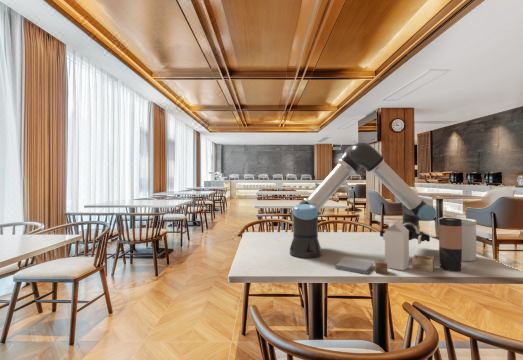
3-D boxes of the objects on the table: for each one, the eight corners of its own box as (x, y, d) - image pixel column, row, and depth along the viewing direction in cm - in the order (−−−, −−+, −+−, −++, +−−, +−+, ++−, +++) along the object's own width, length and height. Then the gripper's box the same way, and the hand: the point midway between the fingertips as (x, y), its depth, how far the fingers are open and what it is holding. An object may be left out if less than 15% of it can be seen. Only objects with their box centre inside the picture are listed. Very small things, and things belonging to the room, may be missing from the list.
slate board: (335, 268, 115) (335, 264, 115) (345, 261, 125) (345, 258, 125) (366, 274, 108) (366, 270, 108) (373, 266, 118) (373, 262, 118)
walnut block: (376, 273, 110) (376, 262, 110) (374, 270, 113) (374, 260, 113) (387, 274, 109) (387, 263, 109) (385, 271, 112) (385, 260, 112)
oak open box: (412, 269, 115) (412, 258, 115) (414, 265, 121) (414, 254, 121) (432, 272, 111) (432, 261, 111) (434, 267, 117) (434, 257, 117)
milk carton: (409, 267, 117) (408, 220, 117) (403, 271, 112) (403, 222, 112) (390, 263, 122) (390, 219, 122) (384, 267, 117) (384, 220, 117)
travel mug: (465, 272, 110) (465, 220, 110) (443, 271, 112) (443, 219, 112) (456, 266, 118) (456, 217, 118) (436, 265, 119) (435, 217, 120)
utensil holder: (442, 260, 127) (442, 220, 127) (434, 252, 141) (434, 216, 141) (482, 263, 122) (482, 222, 122) (470, 254, 136) (470, 218, 136)
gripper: (437, 242, 133) (434, 251, 116) (380, 236, 148) (370, 243, 130) (437, 226, 133) (434, 233, 116) (380, 221, 148) (370, 227, 130)
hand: (400, 238), depth 123 cm, fingers open, 13 cm apart
